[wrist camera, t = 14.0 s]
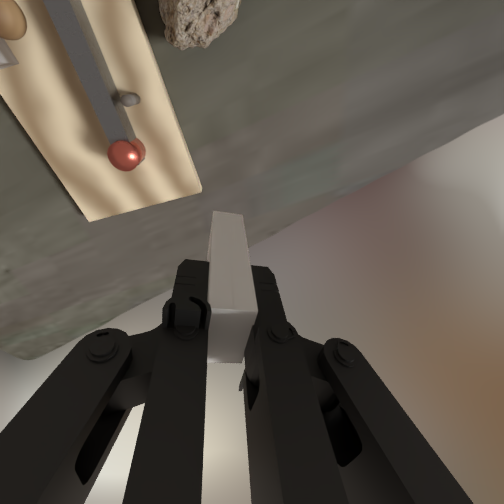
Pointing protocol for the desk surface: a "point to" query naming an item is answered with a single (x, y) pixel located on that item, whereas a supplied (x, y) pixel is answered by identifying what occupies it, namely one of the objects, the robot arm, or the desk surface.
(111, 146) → the lever
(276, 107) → the desk surface
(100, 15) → the board
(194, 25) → the rock
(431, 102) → the desk surface
